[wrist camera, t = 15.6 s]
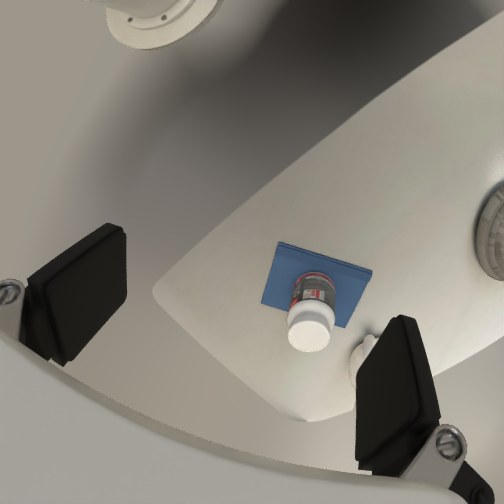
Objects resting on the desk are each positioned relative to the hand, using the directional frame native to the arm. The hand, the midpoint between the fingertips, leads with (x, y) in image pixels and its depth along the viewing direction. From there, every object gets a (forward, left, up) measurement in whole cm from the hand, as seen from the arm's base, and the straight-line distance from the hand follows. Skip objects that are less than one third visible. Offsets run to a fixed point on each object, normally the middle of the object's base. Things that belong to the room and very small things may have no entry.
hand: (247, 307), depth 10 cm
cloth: (+6, -15, -28) cm, 32 cm away
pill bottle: (+6, -15, -28) cm, 32 cm away
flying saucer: (+31, +3, -28) cm, 42 cm away
